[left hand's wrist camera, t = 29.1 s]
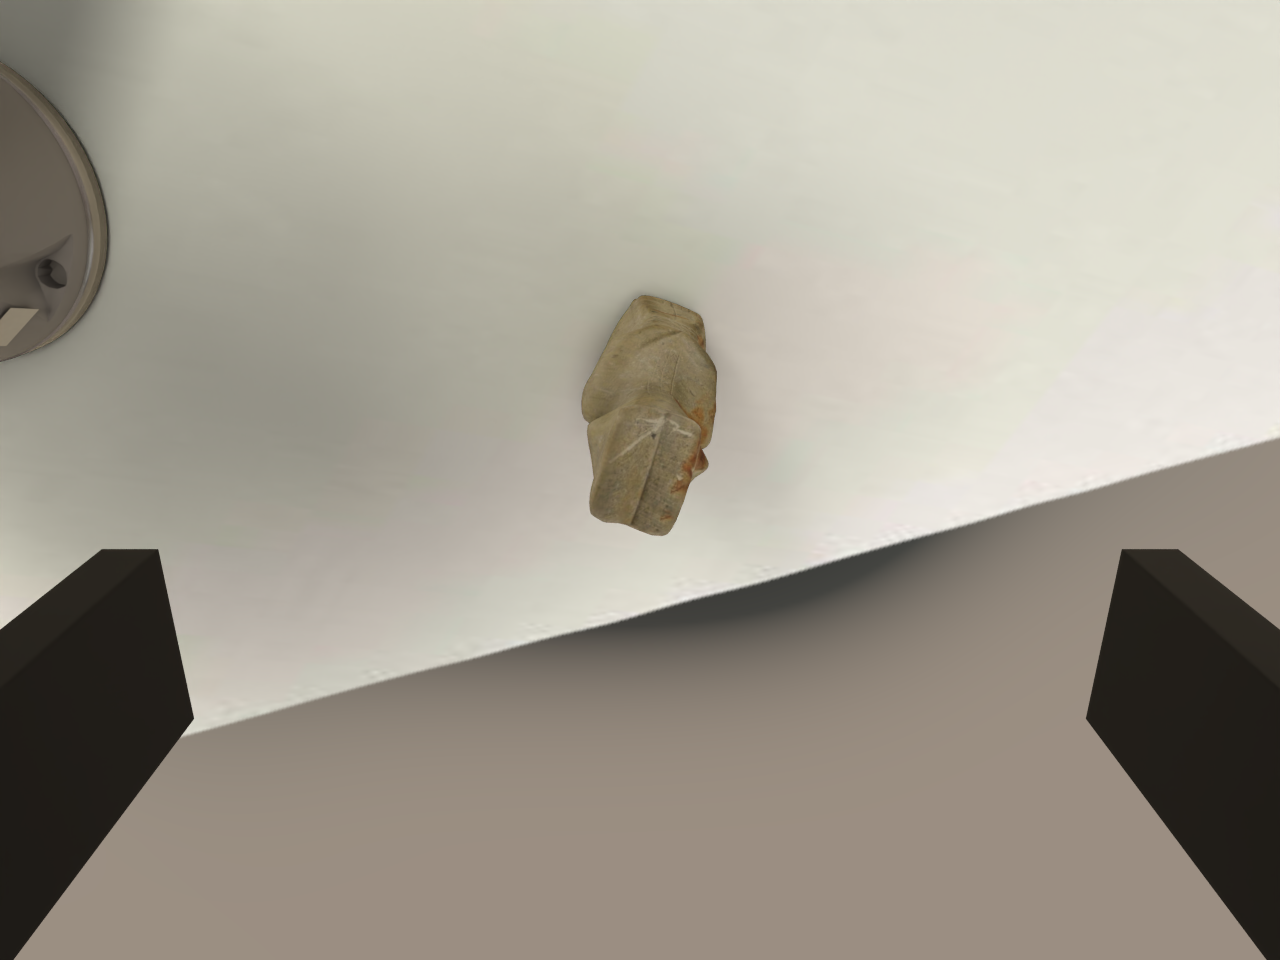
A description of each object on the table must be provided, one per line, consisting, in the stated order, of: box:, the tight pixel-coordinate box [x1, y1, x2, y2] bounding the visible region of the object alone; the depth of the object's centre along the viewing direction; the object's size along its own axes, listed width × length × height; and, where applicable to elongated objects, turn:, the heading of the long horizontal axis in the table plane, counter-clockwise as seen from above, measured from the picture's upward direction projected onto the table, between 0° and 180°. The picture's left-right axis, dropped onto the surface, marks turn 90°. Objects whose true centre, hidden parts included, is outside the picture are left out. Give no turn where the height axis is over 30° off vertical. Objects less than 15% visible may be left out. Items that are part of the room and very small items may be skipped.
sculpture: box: [582, 295, 717, 536], centre depth 40 cm, size 6×7×15 cm
